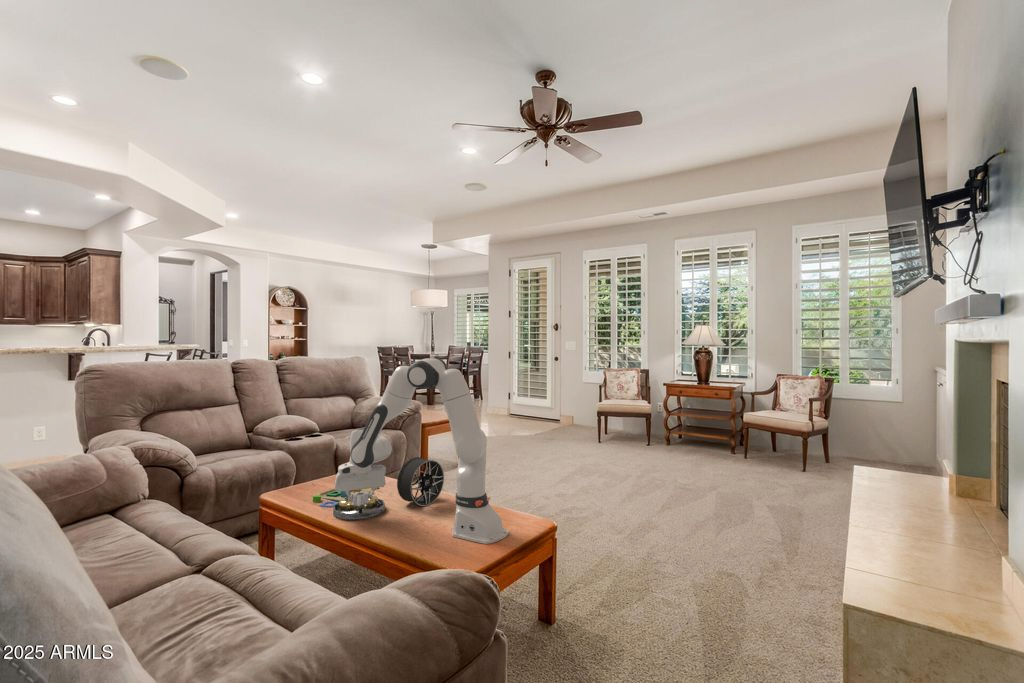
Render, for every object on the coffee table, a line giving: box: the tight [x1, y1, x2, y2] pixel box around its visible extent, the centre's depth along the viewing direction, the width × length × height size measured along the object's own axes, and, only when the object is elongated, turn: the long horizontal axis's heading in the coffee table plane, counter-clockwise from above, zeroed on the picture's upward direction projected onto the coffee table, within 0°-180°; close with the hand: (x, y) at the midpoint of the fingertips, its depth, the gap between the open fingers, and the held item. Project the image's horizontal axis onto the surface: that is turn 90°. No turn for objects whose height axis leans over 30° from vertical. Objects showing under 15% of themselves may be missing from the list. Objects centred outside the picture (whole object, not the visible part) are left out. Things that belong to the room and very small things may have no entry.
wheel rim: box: [396, 456, 445, 507], centre depth 222 cm, size 20×9×20 cm, turn 143°
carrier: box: [332, 495, 386, 522], centre depth 210 cm, size 21×21×6 cm
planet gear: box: [352, 491, 369, 506], centre depth 205 cm, size 7×7×4 cm
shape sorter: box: [312, 487, 380, 508], centre depth 231 cm, size 34×19×5 cm, turn 152°
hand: (360, 499), depth 205 cm, fingers closed on planet gear, 7 cm apart
